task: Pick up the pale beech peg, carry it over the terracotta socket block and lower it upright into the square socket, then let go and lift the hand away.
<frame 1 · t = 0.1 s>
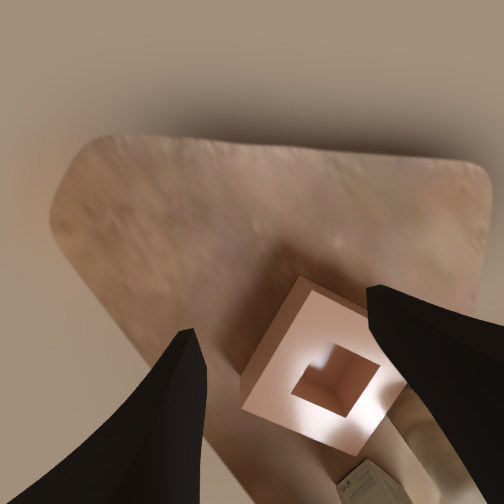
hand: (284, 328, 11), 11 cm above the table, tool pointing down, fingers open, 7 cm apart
beech peg: (398, 401, 25), on the table
socket block: (320, 352, 24), on the table
skincare box: (370, 485, 27), on the table
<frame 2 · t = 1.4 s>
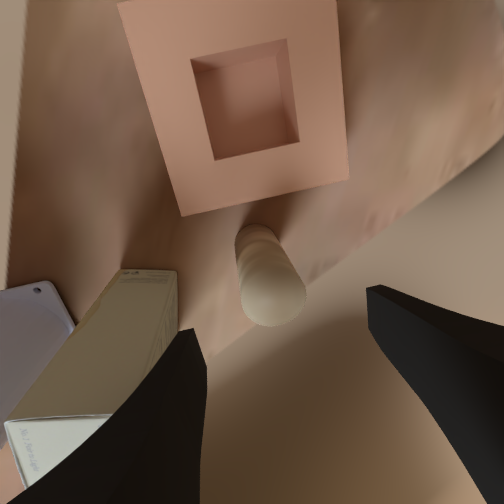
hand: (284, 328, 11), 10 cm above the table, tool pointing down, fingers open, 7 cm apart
beech peg: (255, 244, 21), on the table
socket block: (243, 111, 18), on the table
skincare box: (152, 303, 22), on the table
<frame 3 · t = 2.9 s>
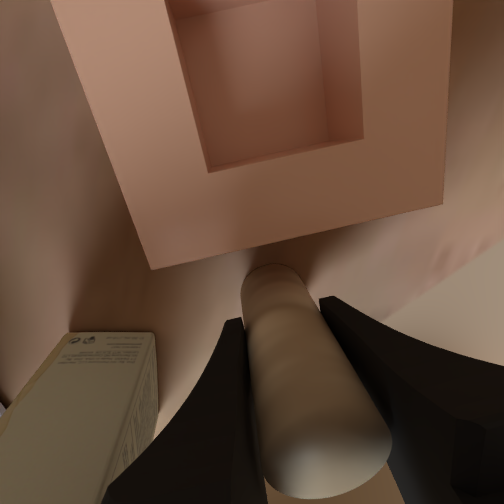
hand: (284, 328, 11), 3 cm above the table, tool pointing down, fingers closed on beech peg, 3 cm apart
beech peg: (272, 293, 14), on the table, touching gripper
socket block: (257, 88, 11), on the table
skincare box: (120, 375, 15), on the table
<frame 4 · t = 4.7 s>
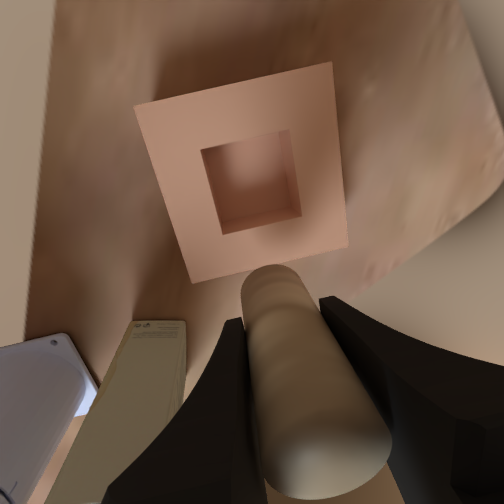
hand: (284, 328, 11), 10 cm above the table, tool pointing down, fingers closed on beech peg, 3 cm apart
beech peg: (272, 293, 14), point 7 cm above the table, touching gripper
socket block: (248, 178, 19), on the table
skincare box: (161, 349, 23), on the table
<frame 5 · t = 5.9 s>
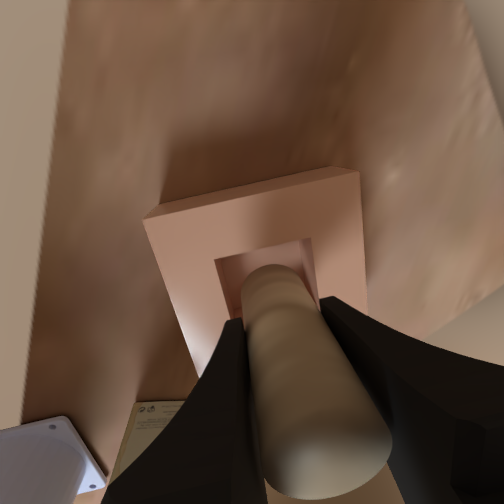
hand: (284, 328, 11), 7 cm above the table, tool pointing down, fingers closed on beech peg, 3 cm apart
beech peg: (272, 293, 14), point 4 cm above the table, touching gripper
socket block: (261, 263, 18), on the table
skincare box: (166, 426, 22), on the table
when the fingers open (5 cm above the table, at t = 6.6 s): beech peg drops 1 cm, resting on socket block.
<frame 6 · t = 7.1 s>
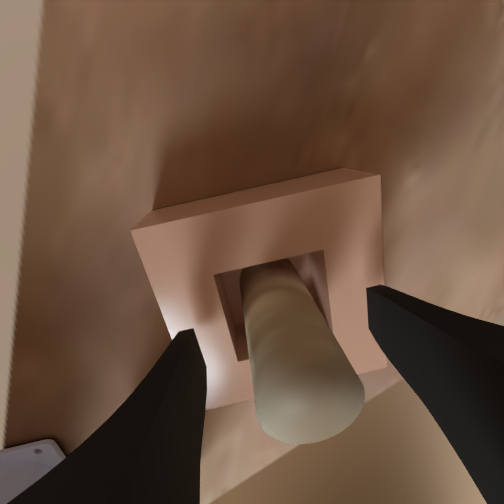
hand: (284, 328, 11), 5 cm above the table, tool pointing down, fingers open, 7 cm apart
beech peg: (268, 280, 16), point 1 cm above the table, touching socket block
socket block: (266, 275, 16), on the table
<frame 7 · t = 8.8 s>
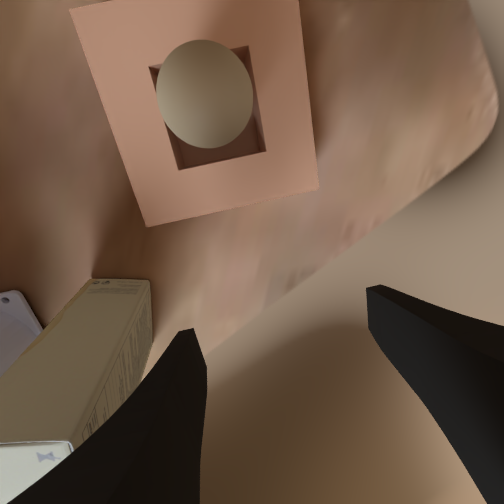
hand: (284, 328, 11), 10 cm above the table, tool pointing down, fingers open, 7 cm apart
beech peg: (213, 117, 17), point 1 cm above the table, touching socket block
socket block: (213, 118, 17), on the table
skincare box: (125, 313, 22), on the table
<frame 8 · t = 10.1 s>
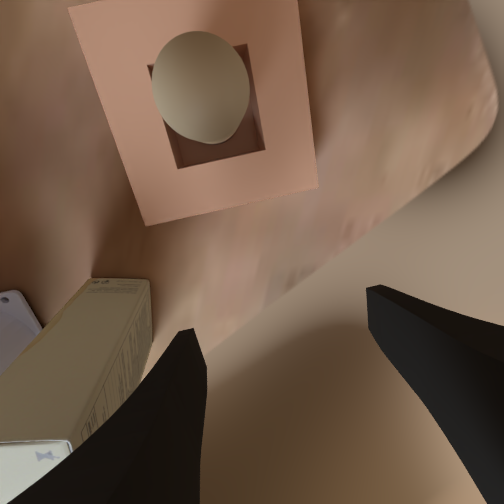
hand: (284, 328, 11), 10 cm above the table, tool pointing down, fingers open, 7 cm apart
beech peg: (212, 116, 17), point 1 cm above the table, touching socket block
socket block: (212, 117, 17), on the table
skincare box: (125, 312, 22), on the table
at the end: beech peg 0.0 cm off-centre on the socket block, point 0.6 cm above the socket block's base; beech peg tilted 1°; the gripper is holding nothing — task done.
